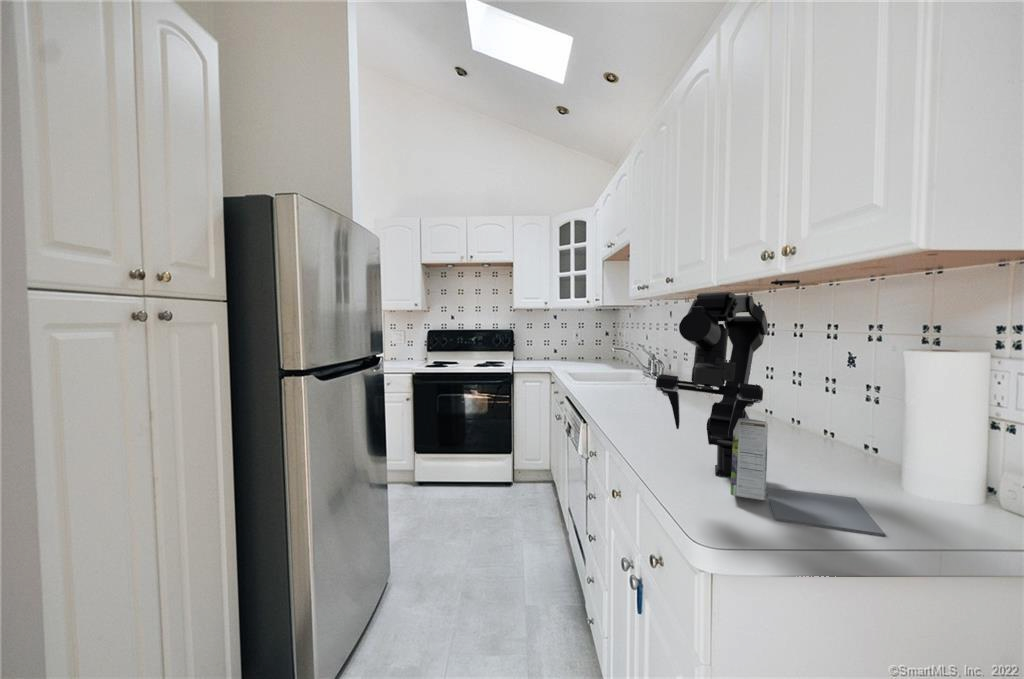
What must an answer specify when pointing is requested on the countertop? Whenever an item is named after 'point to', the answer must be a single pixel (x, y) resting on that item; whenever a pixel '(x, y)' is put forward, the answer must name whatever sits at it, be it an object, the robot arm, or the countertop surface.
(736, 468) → the syrup box
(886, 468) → the countertop surface
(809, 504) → the mat
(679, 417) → the robot arm
